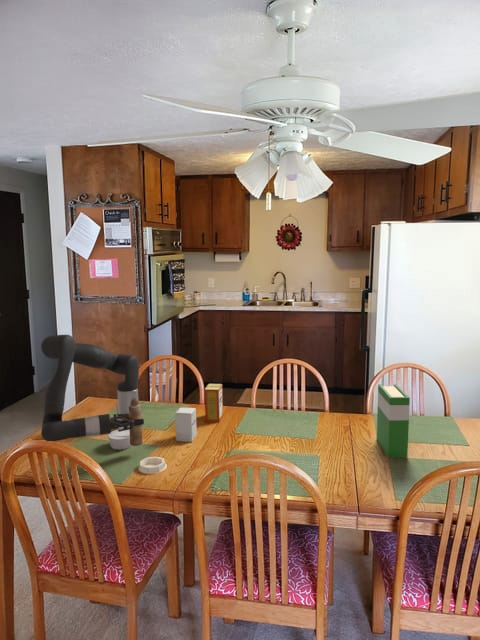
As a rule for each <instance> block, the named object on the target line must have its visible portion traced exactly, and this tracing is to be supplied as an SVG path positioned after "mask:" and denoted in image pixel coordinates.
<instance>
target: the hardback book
mask: <svg viewBox="0 0 480 640" xmlns="http://www.w3.org/2000/svg"><path fill="white" fill-rule="evenodd" d="M410 400H411V397H410V396H409V395H408V394H407V393H406V392H405V391H403V389H402V388H401V387H400V386H399V385H398V384H396V383H394V384H393V385H387V386H386V385H385V386H383V385H382V384H377V414H376V415H377V417H376V418H377V420H376V440H377V442H378V445H380V447H381V449H382V450H383V451H384V454H385V455H386V456H387V458H408V455H409V454H408V453H409V451H408V450H409V449H408V448H409V428H410V427H409V426H410V403H411V401H410Z"/></svg>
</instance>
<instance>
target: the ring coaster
mask: <svg viewBox="0 0 480 640" xmlns="http://www.w3.org/2000/svg"><path fill="white" fill-rule="evenodd" d="M167 467H168V465H167V463H166V462H165V458H164V457H159V456H150V457H149V456H148V457H145V458H143V459H141V460H140V461H139V466H138V471H139V472H140V473H142V474H149V475H150V474H151V475H153V474H158V473H161V472H163V471H165V470H166V469H167Z"/></svg>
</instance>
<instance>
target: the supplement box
mask: <svg viewBox="0 0 480 640" xmlns="http://www.w3.org/2000/svg"><path fill="white" fill-rule="evenodd" d="M174 418H175V422H174V424H175V441H176V442H189V443H191V442H192V443H193V441H194V439H195V438H196V437H197V434H198V433H197V409H196V407H179V408H178V409H177V410H176V411H175V413H174Z"/></svg>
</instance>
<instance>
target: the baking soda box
mask: <svg viewBox="0 0 480 640" xmlns="http://www.w3.org/2000/svg"><path fill="white" fill-rule="evenodd" d="M223 400H224V398H223V384H222V383H208V384H207V385H206V387H205V388H204V412H205V413H204V416H205V422H208V423H220V422H221V420H222V418H223V416H224V404H223V403H224V402H223Z"/></svg>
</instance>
